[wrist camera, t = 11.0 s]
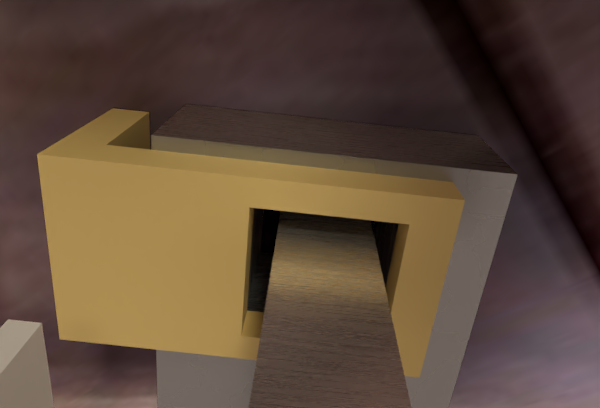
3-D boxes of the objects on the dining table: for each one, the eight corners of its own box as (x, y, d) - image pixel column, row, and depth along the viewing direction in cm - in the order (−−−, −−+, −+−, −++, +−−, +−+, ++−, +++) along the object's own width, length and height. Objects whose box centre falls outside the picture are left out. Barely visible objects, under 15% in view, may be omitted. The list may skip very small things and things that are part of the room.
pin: (286, 170, 21) (219, 582, 7) (362, 178, 21) (456, 604, 7) (280, 237, 23) (212, 702, 8) (351, 244, 23) (411, 721, 8)
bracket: (113, 108, 21) (37, 154, 15) (427, 142, 21) (465, 200, 15) (121, 255, 23) (59, 339, 18) (396, 285, 23) (419, 377, 18)
